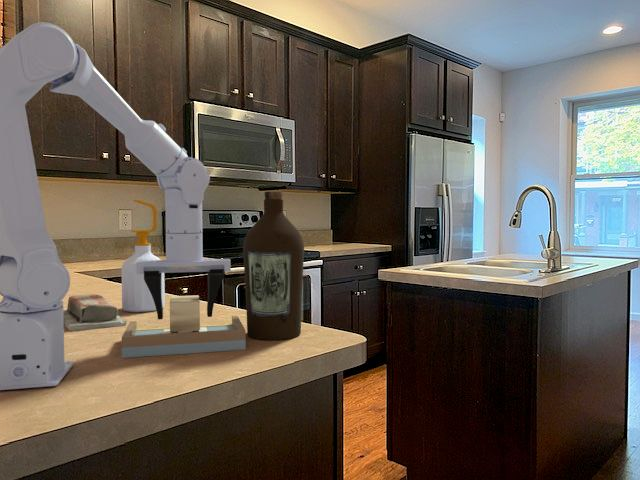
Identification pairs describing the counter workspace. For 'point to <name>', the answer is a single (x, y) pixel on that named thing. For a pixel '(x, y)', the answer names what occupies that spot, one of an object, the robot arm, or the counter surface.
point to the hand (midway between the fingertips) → (185, 317)
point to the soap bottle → (133, 284)
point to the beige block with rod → (184, 313)
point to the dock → (182, 340)
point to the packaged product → (90, 313)
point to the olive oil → (273, 274)
